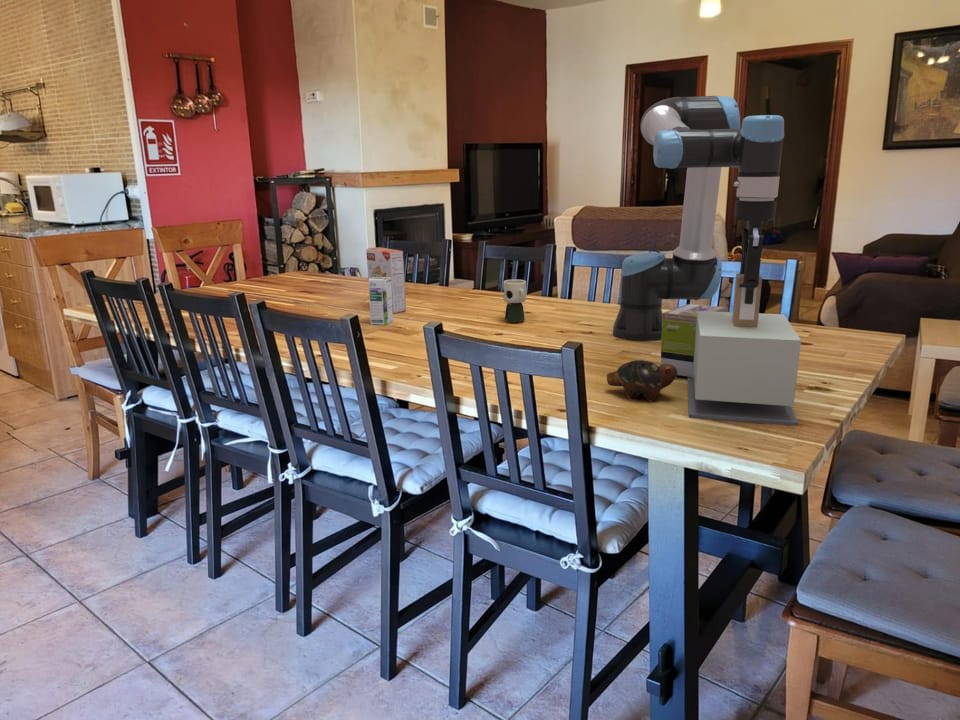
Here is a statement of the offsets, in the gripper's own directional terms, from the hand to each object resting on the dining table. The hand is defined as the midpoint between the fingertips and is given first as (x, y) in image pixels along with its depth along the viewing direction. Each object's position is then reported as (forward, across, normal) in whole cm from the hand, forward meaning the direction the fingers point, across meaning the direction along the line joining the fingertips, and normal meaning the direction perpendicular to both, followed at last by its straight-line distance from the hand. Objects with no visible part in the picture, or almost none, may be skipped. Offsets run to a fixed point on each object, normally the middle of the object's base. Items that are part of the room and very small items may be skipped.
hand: (745, 316), depth 142 cm
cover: (+15, 0, 0) cm, 15 cm away
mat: (+18, 0, 0) cm, 18 cm away
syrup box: (+18, -52, -103) cm, 117 cm away
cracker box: (+18, -71, -109) cm, 131 cm away
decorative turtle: (+18, +1, -20) cm, 27 cm away
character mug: (+18, -62, -62) cm, 90 cm away
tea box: (+18, -20, -9) cm, 28 cm away
